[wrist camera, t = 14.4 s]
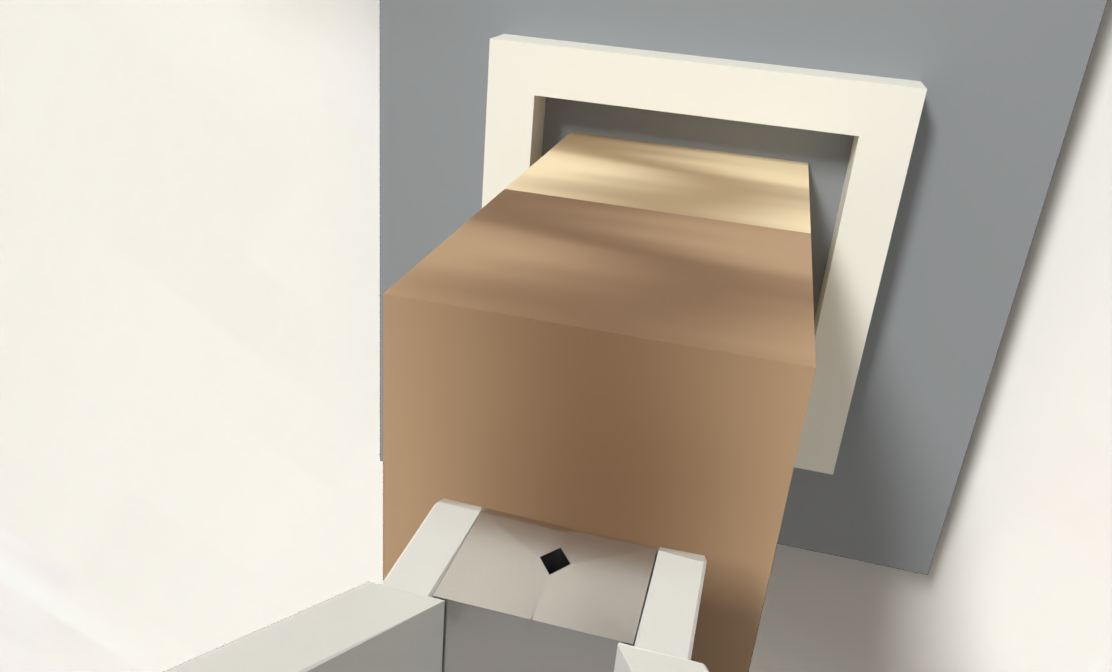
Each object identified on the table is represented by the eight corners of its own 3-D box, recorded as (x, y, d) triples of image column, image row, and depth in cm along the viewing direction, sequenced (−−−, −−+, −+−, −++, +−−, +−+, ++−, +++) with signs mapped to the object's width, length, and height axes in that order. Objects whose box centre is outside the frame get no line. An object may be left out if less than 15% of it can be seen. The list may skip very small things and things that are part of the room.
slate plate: (397, 438, 25) (364, 480, 24) (402, -122, 20) (358, -128, 18) (921, 545, 23) (933, 602, 21) (1106, -63, 17) (1146, -63, 15)
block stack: (553, 341, 22) (382, 622, 13) (571, 132, 20) (383, 293, 11) (765, 378, 21) (740, 708, 12) (808, 162, 19) (816, 367, 10)
